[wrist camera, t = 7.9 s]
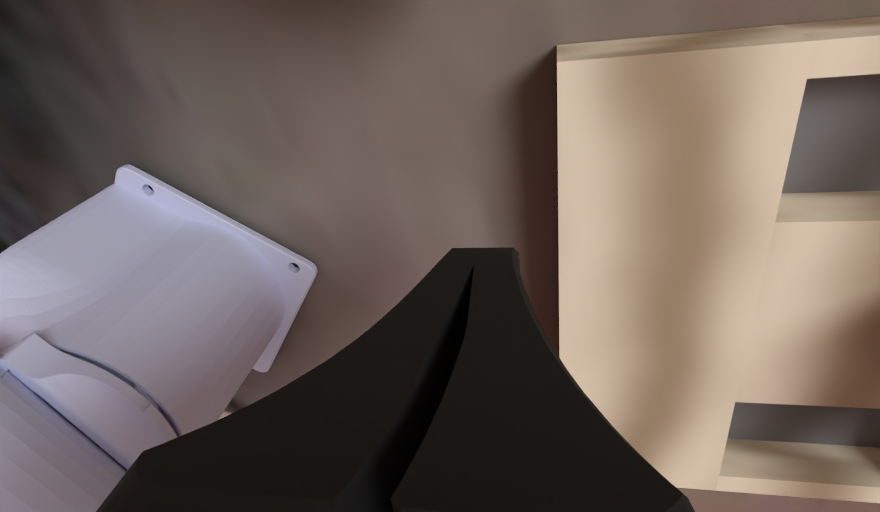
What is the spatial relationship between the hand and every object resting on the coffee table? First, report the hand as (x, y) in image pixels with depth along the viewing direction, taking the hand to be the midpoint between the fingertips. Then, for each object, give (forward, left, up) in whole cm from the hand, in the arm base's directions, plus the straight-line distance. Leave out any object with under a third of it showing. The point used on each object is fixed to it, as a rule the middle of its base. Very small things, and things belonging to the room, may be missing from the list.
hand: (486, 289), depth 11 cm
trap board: (+13, +1, -10) cm, 16 cm away
